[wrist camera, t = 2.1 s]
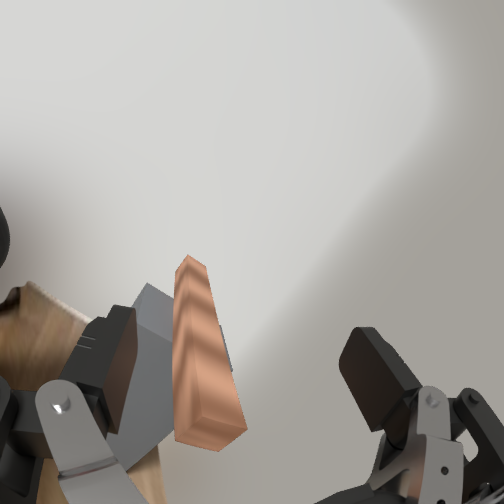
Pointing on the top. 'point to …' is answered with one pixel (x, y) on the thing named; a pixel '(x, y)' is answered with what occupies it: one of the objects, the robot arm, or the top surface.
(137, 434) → the pedestal
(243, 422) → the batten
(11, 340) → the top surface
